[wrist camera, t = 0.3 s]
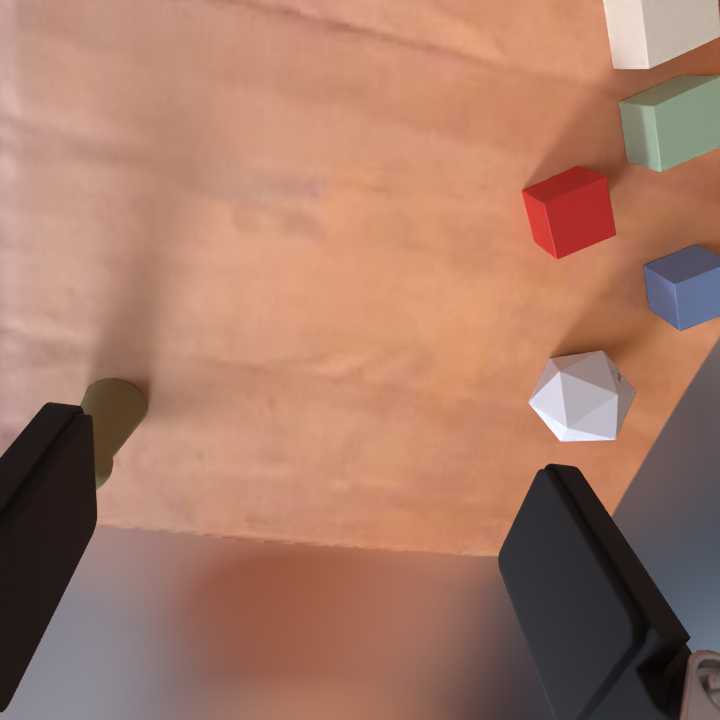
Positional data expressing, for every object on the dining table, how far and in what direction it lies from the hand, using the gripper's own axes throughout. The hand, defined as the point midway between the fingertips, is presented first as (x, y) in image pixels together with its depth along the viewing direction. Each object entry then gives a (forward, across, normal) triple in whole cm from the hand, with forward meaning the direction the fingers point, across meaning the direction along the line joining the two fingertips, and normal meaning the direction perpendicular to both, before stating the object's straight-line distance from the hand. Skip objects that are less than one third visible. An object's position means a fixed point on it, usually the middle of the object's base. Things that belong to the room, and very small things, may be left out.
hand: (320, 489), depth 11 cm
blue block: (+37, -35, +2) cm, 50 cm away
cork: (+37, +16, +25) cm, 48 cm away
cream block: (+36, -22, -16) cm, 45 cm away
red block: (+37, -21, -2) cm, 42 cm away
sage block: (+36, -26, -10) cm, 46 cm away
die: (+37, -29, +15) cm, 49 cm away
